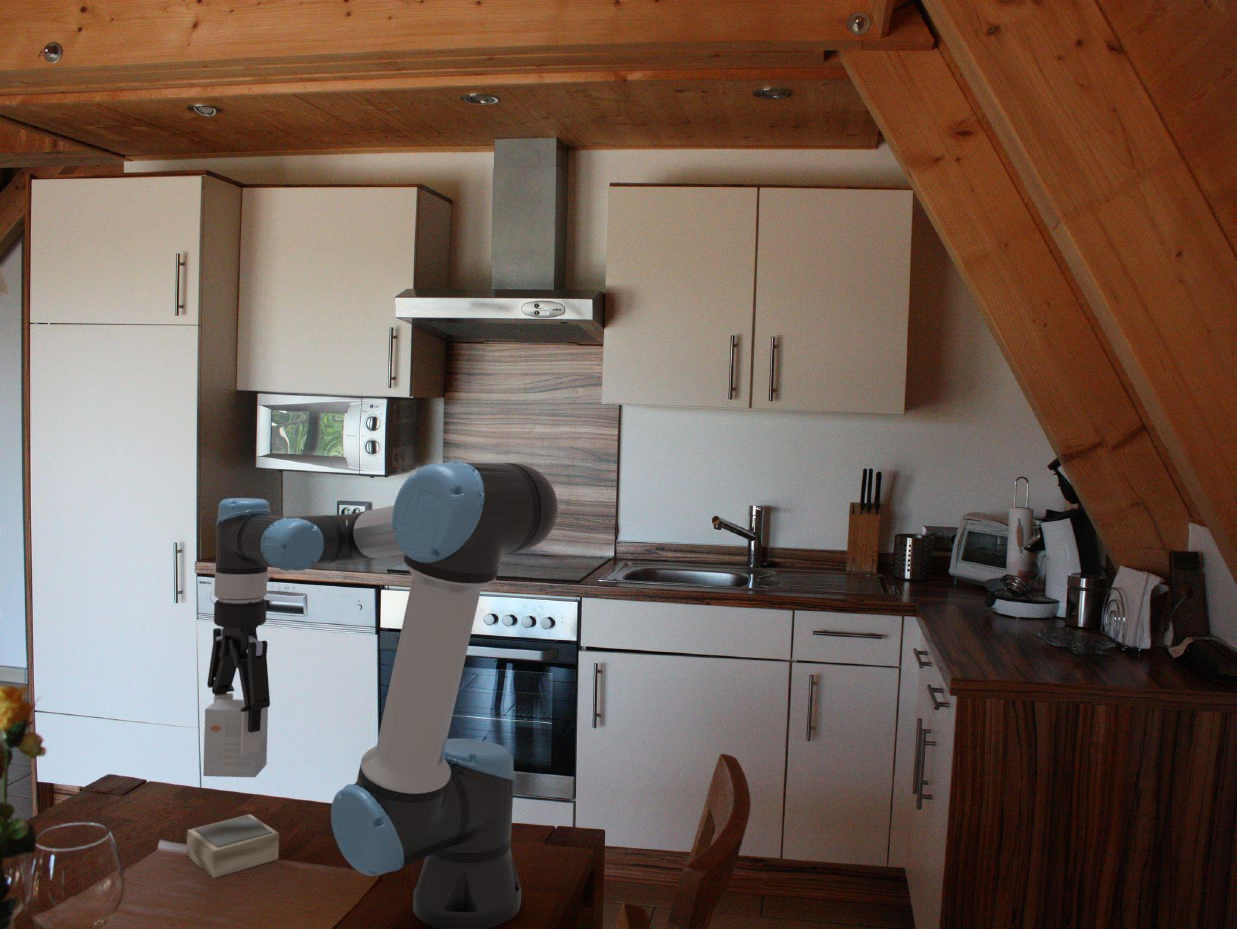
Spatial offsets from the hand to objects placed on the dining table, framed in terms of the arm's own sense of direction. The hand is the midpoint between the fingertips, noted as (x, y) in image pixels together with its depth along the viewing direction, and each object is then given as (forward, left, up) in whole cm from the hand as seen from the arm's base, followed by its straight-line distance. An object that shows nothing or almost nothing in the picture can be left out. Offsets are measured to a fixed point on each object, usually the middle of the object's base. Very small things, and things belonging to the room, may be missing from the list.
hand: (235, 743), depth 149 cm
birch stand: (0, 0, -18) cm, 18 cm away
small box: (0, 0, -5) cm, 5 cm away
